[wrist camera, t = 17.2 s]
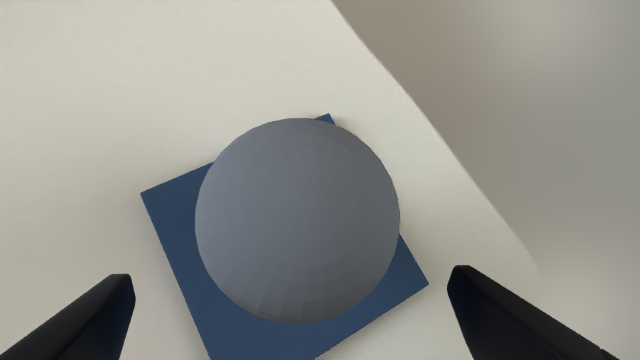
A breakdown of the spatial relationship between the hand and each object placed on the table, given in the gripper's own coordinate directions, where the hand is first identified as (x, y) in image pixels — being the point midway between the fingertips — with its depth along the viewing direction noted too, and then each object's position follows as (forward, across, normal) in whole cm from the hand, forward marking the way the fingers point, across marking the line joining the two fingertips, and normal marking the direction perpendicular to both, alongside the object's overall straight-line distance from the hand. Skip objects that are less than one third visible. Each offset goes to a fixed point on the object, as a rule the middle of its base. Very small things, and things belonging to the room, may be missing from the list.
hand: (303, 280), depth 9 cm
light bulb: (+7, 0, +4) cm, 8 cm away
